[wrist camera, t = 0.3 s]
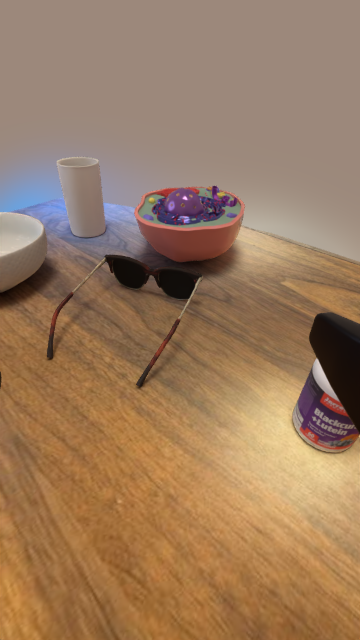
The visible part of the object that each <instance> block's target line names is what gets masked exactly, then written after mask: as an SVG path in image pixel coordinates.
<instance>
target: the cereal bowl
mask: <svg viewBox="0 0 360 640" xmlns="http://www.w3.org/2000/svg"><path fill="white" fill-rule="evenodd" d="M46 254H47V238H46V233H45V228H44V226H43V224H42V223H41V222H40V221H39V220H38V219H36V218H34V217H31V216H28V215H24V214H18V213H3V212H2V213H1V212H0V292H4V291H6V290H9V289H11V288H13V287H14V286H16V285H17V284H19V283H20V282H22V281H24V280H25V279H27V278H29V277H30V276H31V275H33V274H34V273H35V272H36V271H37V270H38V269H39V267H40V266H41V265H42V263H43V262H44V259H45V257H46Z"/></svg>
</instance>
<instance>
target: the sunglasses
mask: <svg viewBox="0 0 360 640" xmlns="http://www.w3.org/2000/svg"><path fill="white" fill-rule="evenodd" d="M104 257H105V258H104V259H103V260H102V261H101V262H100V263H99V264H98V266H97V267H96V268H95V269H94V270H93V271H92V272H91V273H90V274H89V275H88V276H87V277H86V278H85V279H84V280H83V281H82V282H81V283H80V284H79V285H78V286H77V287H76V288H75V289H74V290H73V291H72V292H71V293H70V294H69V295H68V296H67V297H66V298H65V299H64V300H63V301H62V302H61V304H60V305H59V306H58V307H57V309H56V311H55V313H54V315H53V318H52V322H51V328H50V335H49V342H48V349H47V358H53V337H54V330H55V324H56V319H57V316H58V314H59V312H60V310H61V309H62V307H63V306H64V305H65V304H66V303H67V302H68V301H69V300H70V298H71V297H72V296H73V294H74V293H75V292H76V291H77V290H78V289H79V288H80V287H81V286H82V285H83V284H84V283H85V282H86V281H87V280H88V279H89V278H90V276H91V275H92V274H93V273H94V272H95V271H96V270H97V269H98V268H99V267H101V266H102V265H103V264H104V263H105V262H107V263H108V264H109V268H110V271H111V273H113V272H114V275H115V278H116V280H117V281H118V282H119V283H120V284H121V285H123V286H125V287H127V288H130V289H136V290H138V289H141V288H142V287H143V286H144V284H146V283H147V281H148V279H149V276H150V275H152V276H154V278H155V280H156V282H157V285H158V287H159V288H162V290H163V292H164V293H165V294H166V295H167V296H169V297H170V298H173V299H177V300H188V299H189V300H188V302H187V304H186V305H185V307H184V309H183V311H182V313H181V315H180V317H179V319H177V320H176V322H175V323H174V325H173V327H172V329H171V331H170V332H169V334H168V336H167V337H166V338H165V340H164V341H163V343H162V344H161V346H160V348H159V349H158V351H157V352H156V354H155V355H154V357H153V358H152V360H151V362H150V363H149V365H148V366H147V368H146V369H145V371H144V372H143V374H142V376H141V377H140V379H139V380H138V382H137V384H136V385H137V386H139V387H141V386H142V384H143V382H144V381H145V379H146V376H147V375H148V373H149V371H150V369H151V368H152V366H153V365H154V363H155V362H156V360H157V359H158V357H159V356H160V354H161V352H162V351H163V349H164V348H165V346H166V344H167V343H168V341H169V340H170V339H171V337H172V335H173V334H174V332H175V330H176V328H177V326H178V324H179V322H180V320H181V318H182V316H183V314H184V312H185V310H186V308H187V306H188V304H189V302H190V300H191V299H192V297H193V295H194V293H195V291H196V290H197V287H198V285H199V284H200V282H201V281H202V275H201V274H199V273H196V272H194V271H191V270H188V269H184V268H179V267H160V268H158V269H150V268H149V267H148V266H147V265H145V264H144V263H142V262H140V261H138V260H135V259H133V258H130V257H126V256H120V255H105V256H104Z"/></svg>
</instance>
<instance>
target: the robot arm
mask: <svg viewBox="0 0 360 640" xmlns="http://www.w3.org/2000/svg"><path fill="white" fill-rule="evenodd" d="M309 340H310V344H311V346H312V348H313V350H314V352H315V355H316V357H317V359H318V361H319V363H320V365H321V367H322V370H323V372H324V374H325V376H326V378H327V380H328V382H329V384H330V386H331V388H332V389H333V391H334V393H335V394H336V396H337V398H338V399H339V401H340V403H341V404H342V406H343V408H344V409H345V411H346V413H347V414H348V416H349V418H350V419H351V421H352V423H353V424H354V426H355V428H356V429H357V431H358V432H359V434H360V324H358V323H356V322H354V321H351V320H349V319H346V318H344V317H342V316H339V315H337V314H334V313H331V312H328V313H320V314H317V316H316V317H315V319H314V323H313V326H312V329H311V332H310V335H309ZM0 387H1V372H0Z"/></svg>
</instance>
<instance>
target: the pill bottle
mask: <svg viewBox="0 0 360 640" xmlns="http://www.w3.org/2000/svg"><path fill="white" fill-rule="evenodd" d="M293 423H294V426H295V428H296V430H297V432H298V433H299V434H300V436H301V437H302V438H303V439H304V440H305V441H306V442H307V443H309V444H310V445H312V446H313V447H315V448H317V449H320V450H322V451H326V452H341V451H344V450H347V449H348V448H349V447H351V446H352V444H353V443H354V442H355V441H356V439H357V438H358V436H359V435H360V434H359V432H358V431H357V429H356V428H355V426H354V424H353V423H352V421H351V419H350V418H349V416H348V414H347V413H346V411H345V409H344V408H343V406H342V404H341V403H340V401H339V399H338V398H337V396H336V394H335V393H334V391H333V389H332V388H331V386H330V384H329V382H328V380H327V378H326V376H325V374H324V372H323V370H322V367H321V365H320V363H319V361H318V359H316V360H315V362H314V364H313V366H312V369H311V371H310V373H309V376H308V378H307V380H306V383H305V385H304V387H303V389H302V392H301V394H300V396H299V399H298V401H297V403H296V406H295V408H294V411H293Z"/></svg>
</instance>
